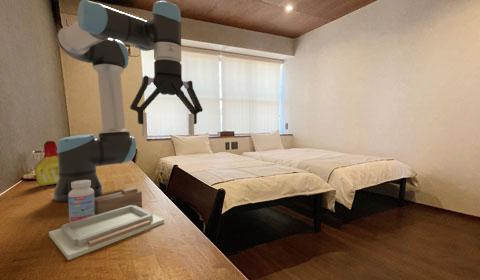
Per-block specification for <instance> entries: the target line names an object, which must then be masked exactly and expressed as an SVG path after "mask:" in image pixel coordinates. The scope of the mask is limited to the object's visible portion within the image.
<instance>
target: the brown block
mask: <svg viewBox="0 0 480 280" xmlns="http://www.w3.org/2000/svg"><path fill="white" fill-rule="evenodd" d="M142 192H143V191H141V190H139V189H138V188H137V187H134V186H132V187H129V188H123V189H121V191H120V192H119V191H118V192H114V193H110V194H109V193H108V194H105V195H101V196H95V197H94V203H95V215H98V214H101V213H105V212H108V211H112V210H115V209H119V208H122V207H126V206H129V205H133V206H134V205H136V206H138V207H141V206H143V195H142V194H143V193H142Z"/></svg>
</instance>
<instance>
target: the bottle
mask: <svg viewBox="0 0 480 280" xmlns="http://www.w3.org/2000/svg"><path fill="white" fill-rule="evenodd" d="M43 150H44V153H43V158H41V159H40V160H39V161H38V162H37V164H36V165H35V168H34V172H35V173H34V174H35V178H36V179H35V180H36V182H37V185H39V186H40V187H41V186H49V185H55V184H56V185H57V183H58V180H59V168H58V153H57V142H56V141H53V140H47V141H45V143H44V144H43Z"/></svg>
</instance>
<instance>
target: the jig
mask: <svg viewBox="0 0 480 280" xmlns="http://www.w3.org/2000/svg"><path fill="white" fill-rule="evenodd" d="M162 224H165V218H163V217H161V216H158V215H157V214H154V213H152V212H150V211H148V210H146V209H145V208H142V207H141V206H136V205H134V206H133V205H129V206H126V207H122V208H119V209H115V210H112V211H108V212H105V213H101V214H98V215H94V216H91V217H87V218H84V219H80V220H77V221H73V222H70V221H69V222H66V223H64V224H63V223H62V225H61V226H60V228H57V229H54V230H50V231H48V236H49V237H50V239H51V240H52V241H53V242H54V244H55V246H56V247H58V249H59V251H61V253H62V254H63V256H65V258H66V259H67V260H68V261H70V260H73V259H75V258H78V257H81V256H83V255H85V254H88V253H90V252H93V251H96V250H98V249H100V248H103V247H106V246H108V245H111V244H113V243H115V242H116V243H117V242H119V241H122V240H123V239H126V238H129V237H131V236H134V235H136V234H137V235H138V234H139V233H142V232H143V231H146V230H149V229H152V228H155V227H156V226H160V225H162Z"/></svg>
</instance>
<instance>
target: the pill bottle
mask: <svg viewBox="0 0 480 280" xmlns="http://www.w3.org/2000/svg"><path fill="white" fill-rule="evenodd" d="M90 186H91V180H79V181H74V182H71V188H73V190H71V191H70V192H69V194H68V201H69V202H68V219H69V220H68V221H69V223H70V222H73V221H77V220H80V219H84V218H87V217H91V216H94V215H95V203H94V198H95V197H94V190H93V189H92V188H90Z"/></svg>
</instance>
